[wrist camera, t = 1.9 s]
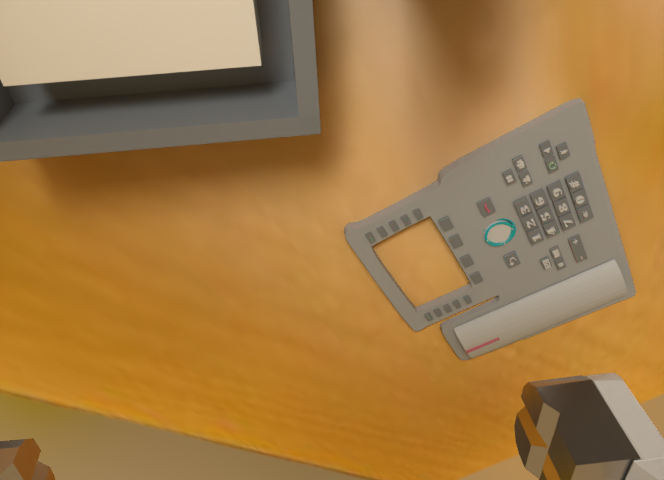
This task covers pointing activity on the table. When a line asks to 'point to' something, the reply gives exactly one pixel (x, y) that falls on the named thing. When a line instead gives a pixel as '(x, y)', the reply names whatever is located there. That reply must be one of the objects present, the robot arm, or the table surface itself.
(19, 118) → the open box
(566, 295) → the office telephone
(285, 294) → the table surface
